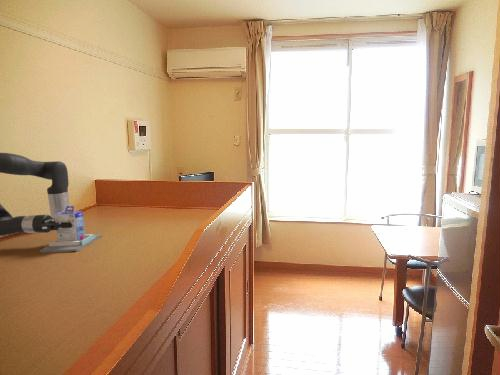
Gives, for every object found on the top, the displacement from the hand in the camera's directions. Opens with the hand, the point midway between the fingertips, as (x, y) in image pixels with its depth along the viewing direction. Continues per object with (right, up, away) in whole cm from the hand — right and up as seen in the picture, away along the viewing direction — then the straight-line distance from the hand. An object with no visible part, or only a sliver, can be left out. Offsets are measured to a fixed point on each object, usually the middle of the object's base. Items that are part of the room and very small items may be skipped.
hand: (75, 222), depth 145 cm
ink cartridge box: (-2, -8, +1) cm, 8 cm away
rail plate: (-2, -9, +2) cm, 9 cm away
